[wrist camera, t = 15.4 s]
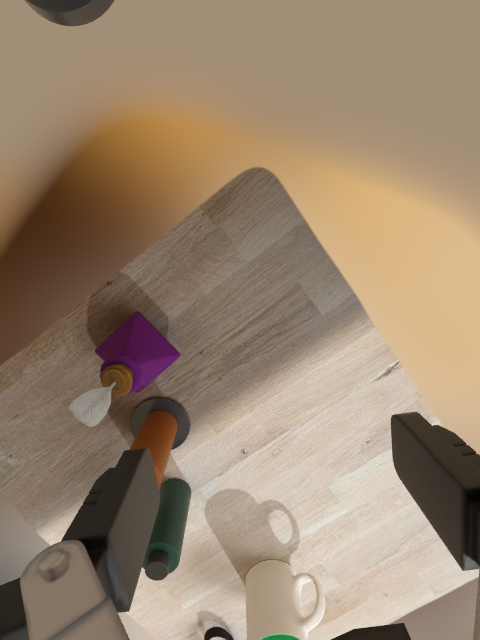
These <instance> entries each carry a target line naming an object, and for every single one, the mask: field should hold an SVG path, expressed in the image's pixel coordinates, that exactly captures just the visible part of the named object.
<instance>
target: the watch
mask: <svg viewBox="0 0 480 640" xmlns="http://www.w3.org/2000/svg"><path fill="white" fill-rule="evenodd" d="M213 637H222V638H225V639H226V640H234V639H233V638H232V636H231V637H230V635H229V634H228V632H227V631H226V630H225V629H223V628H221V627H212V628H210V629H209V630H207V632H206V633H205V636H204V640H209V639H211V638H213Z"/></svg>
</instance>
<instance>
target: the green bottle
mask: <svg viewBox="0 0 480 640" xmlns="http://www.w3.org/2000/svg"><path fill="white" fill-rule="evenodd" d="M159 494H160V501H159V509H158V512H157V516H156V519H155V523H154V526H153V530H152V533H151V537H150V540H149V544H148V547H147V551H146V554H145V558H144V561H143V565H142V567H143V568H144V569H145V573H146V575H147V577H149V578H150V579H152V580H162V579H164V578H165V577H166V576H167V575H168V574H169V573H171V572H173V571H174V570H175V569H176V568H177V566H178V565H179V561H180V555H181V550H182V544H183V538H184V533H185V527H186V521H187V515H188V510H189V504H190V498H191V489H190V487H189V485H188V484H187V483H186V482H185V481H183V480H180V479H170V480H167V481H165V482H164V483H163V484H162V485H161V487H160V490H159Z"/></svg>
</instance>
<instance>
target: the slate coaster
mask: <svg viewBox="0 0 480 640" xmlns="http://www.w3.org/2000/svg"><path fill="white" fill-rule="evenodd" d="M154 411H166V412H168V413H170V414H171V415H173V416H174V418H175V419H176V421H177V425H178V428H177V432H176V435H175V438H174V442H173V445H172V448H171V450H172V449H175V448H177V447H178V446H180V445H181V444H182V443H183V442H184V441H185V440H186V438H187V436H188V434H189V430H190V420H189V416H188V414H187V412H186V411H185V409H184V408H183V407H182V406H181V405H180V404H179V403H177V402H175V401H174V400H171V399H168V398H162V397H158V398H151V399H149V400H146V401H144V402H143V403H141V404H140V405H139V406H138V407H137V409H136V410H135V412H134V414H133V416H132V420H131V427H132V431H133V434H134V436H135V438H136V436H137V435H138V433H139V431H140V429H141V427H142V425H143V423H144V421H145V419H146V417H147V416H148V415H149V414H150V413H152V412H154Z"/></svg>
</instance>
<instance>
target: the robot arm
mask: <svg viewBox="0 0 480 640" xmlns="http://www.w3.org/2000/svg"><path fill="white" fill-rule="evenodd" d="M391 435H392V454H393V462H394V466H395V469H396V472H397V474H398V476H399V478H400V480H401V481H402V483H403V484H404V485H405V487H406V488H407V490H408V491H409V493H410V494H411V496H412V497H413V499H414V500H415V501H416V503H417V504H418V506H419V507H420V509H421V510H422V512H423V513H424V515H425V516H426V518H427V519H428V520H429V522H430V523H431V525H432V526H433V528H434V529H435V531H436V532H437V534H438V535H439V537H440V538H441V539H442V541H443V542H444V544H445V545H446V547H447V548H448V550H449V551H450V553H451V554H452V556H453V557H454V558H455V560H456V561H457V563H458V564H459V566H460V567H461V569H462V570H463V571H465V570H473V569H480V455H479V454H476V452H475V451H474V450H473V449H472V448H471V447H470V446H469V445H466V443H465V442H464V441H463V440H462V439H461V438H459V437H458V436H457V435H456V434H455V433H453V432H451V431H449V430H447V429H445V428H443V427H441V426H439V425H434V426H432V425H431V424H430V423H429V422H428V421H427V420H426V419H424V418H423V417H422V416H421V415H420V414H419V413H418V412H410V413H403V414H396V415H392V417H391ZM159 501H160V494H159V486H158V482H157V477H156V473H155V469H154V464H153V460H152V455H151V452H150V449H149V448H139V449H132V450H126V451H124V452H123V454H122V456H121V458H120V460H119V462H118V464H117V465H116V467H115V468H109V469H108V470H107V471H106V472H105V473H104V474H102V475H101V476H100V477H99V478H98V479H97V480H96V482H95V483H94V485H93V487H92V489H91V490H90V492H89V495H88V496H87V497H86V499H85V501H84V502H83V506H81V508H80V509H79V511H78V513H77V515H76V516H75V518H74V520H73V521H72V523H71V525H70V527H69V528H68V530H67V532H66V534H65V535H64V537H63V539H62V541H61V542H59V543H56V544H54V545H52V546H50V547H48V548H46V549H45V550H43V551H42V552H40V553H39V554H38V555H37V556H36V557H35V558H34V559H33V560H32V561H31V562H30V563H29V564H28V565H27V567H26V568H25V570H24V571H23V574H22V576H21V578H18V579H16V580H13V581H11V582H8V583H6V584H3V585H0V640H129V637H128V635H127V633H126V631H125V629H124V626H123V624H122V622H121V619H120V617H119V615H118V612H127V611H129V610H130V607H131V603H132V600H133V596H134V593H135V589H136V586H137V582H138V579H139V575H140V572H141V568H142V565H143V561H144V558H145V554H146V551H147V547H148V544H149V540H150V537H151V533H152V530H153V526H154V523H155V519H156V516H157V512H158V509H159ZM331 640H411V638H410V636H409V634H408V632H407V629H406V627H405V625H404V623H400V624H392V625H384V626H376V627H368V628H359V629H353V630H351V631H349V632H347V633H345V634H342V635H340V636H338V637H336V638H334V639H331ZM473 640H480V570H479V582H478V593H477V604H476V615H475V627H474V638H473Z"/></svg>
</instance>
